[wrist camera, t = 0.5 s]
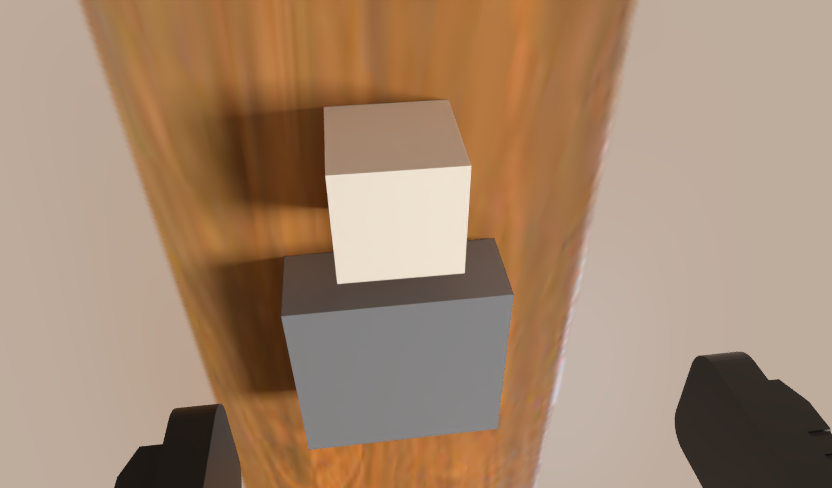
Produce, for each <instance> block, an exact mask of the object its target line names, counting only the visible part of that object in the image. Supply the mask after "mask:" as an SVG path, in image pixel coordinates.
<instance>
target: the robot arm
mask: <svg viewBox="0 0 832 488" xmlns="http://www.w3.org/2000/svg"><path fill="white" fill-rule="evenodd" d="M675 429H676V434H677V438H678V441H679V444H680V446H681V448H682V450H683V452H684V454H685V456H686V458H687V460H688V461H689V463H690V465H691V467H692V469H693V470H694V472H695V474H696V476H697V478H698V479H699V482H700V483H701V485H702V487H703V488H832V434H831V432H830V428H829V426H828V425H827V424H826V423H825V421H824V420H823V419H822V418H821V416H820V415H819V414H818V413H817V411H816V410H815V409H814V408H813V406H812V405H811V404H810V402H808V401H807V400H806V399H805V398H803V397H802V396H801V395H799V394H798V393H797V392H795V391H794V390H792V389H791V388H790V387H788V386H787V385H785V384H784V383H783V382H782V381H780V380H779V379H777V380H768V379H767V378H766V376H765V375H764V374H763V372H762V371H761V370H760V368H759V367H758V366H757V365H756V363H755V362H754V360H753V359H752V358H751V357H750V356H749V355H747V354H746V353H744V352H732V353H722V354H712V355H703V356H698V357H696V358H695V359H694V361H693V363H692V365H691V368H690V371H689V374H688V377H687V380H686V383H685V386H684V389H683V392H682V395H681V398H680V401H679V403H678V406H677V409H676V413H675ZM241 486H242V485H241V468H240V461H239V457H238V454H237V450H236V447H235V443H234V440H233V436H232V433H231V429H230V426H229V422H228V419H227V415H226V412H225V409H224V406H223V405H222V404H213V405H203V406H193V407H184V408H176V409H174V410H173V411H172V413H171V414H170V417H169V421H168V425H167V429H166V433H165V438H164V442H163V444H161V445H151V446H142V447H139V448H138V450H137V451H136V452H135V454H134V455H133V457H132V458H131V459H130V461H129V462H128V463H127V465H126V466H125V468H124V469H123V470H122V472H121V473H120V474H119V476H118V477H117V480H116V483H115V487H114V488H241Z"/></svg>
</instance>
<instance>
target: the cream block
mask: <svg viewBox="0 0 832 488" xmlns="http://www.w3.org/2000/svg"><path fill="white" fill-rule="evenodd" d="M324 143H325V178H326V187H327V196H328V205H329V214H330V223H331V232H332V241H333V250H334V259H335V268H336V277H337V284H343V283H355V282H367V281H379V280H391V279H403V278H415V277H427V276H438V275H450V274H462V273H465V260H466V244H467V228H468V212H469V195H470V179H471V163H470V160H469V157H468V155H467V152H466V149H465V146H464V143H463V140H462V137H461V134H460V131H459V128H458V126H457V123H456V120H455V117H454V114H453V111H452V108H451V105H450V102H449V100H433V101H416V102H399V103H382V104H366V105H349V106H332V107H324Z"/></svg>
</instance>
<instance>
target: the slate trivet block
mask: <svg viewBox="0 0 832 488" xmlns="http://www.w3.org/2000/svg"><path fill="white" fill-rule="evenodd" d="M513 296H514V294H513V291H512V288H511V285H510V282H509V279H508V277H507V274H506V271H505V268H504V265H503V262H502V259H501V256H500V253H499V250H498V247H497V244H496V241H495V238H491V239H479V240H468V241H467V244H466V260H465V273H462V274H450V275H438V276H427V277H415V278H403V279H391V280H379V281H367V282H355V283H343V284H337V277H336V268H335V259H334V252H329V253H318V254H306V255H295V256H284V273H283V291H282V309H281V318H282V323H283V328H284V333H285V338H286V342H287V347H288V352H289V357H290V361H291V366H292V371H293V376H294V381H295V385H296V390H297V395H298V400H299V404H300V409H301V414H302V419H303V424H304V428H305V433H306V438H307V443H308V447H309V450H312V449H320V448H329V447H338V446H347V445H356V444H365V443H374V442H383V441H392V440H401V439H409V438H418V437H427V436H436V435H445V434H454V433H463V432H472V431H481V430H490V429H497V427H498V419H499V410H500V402H501V394H502V386H503V378H504V369H505V361H506V353H507V345H508V337H509V328H510V320H511V312H512V304H513Z"/></svg>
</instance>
